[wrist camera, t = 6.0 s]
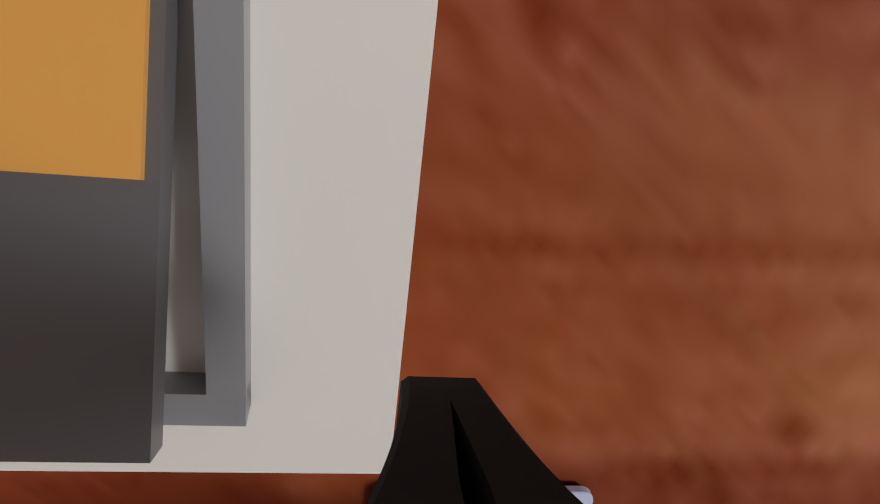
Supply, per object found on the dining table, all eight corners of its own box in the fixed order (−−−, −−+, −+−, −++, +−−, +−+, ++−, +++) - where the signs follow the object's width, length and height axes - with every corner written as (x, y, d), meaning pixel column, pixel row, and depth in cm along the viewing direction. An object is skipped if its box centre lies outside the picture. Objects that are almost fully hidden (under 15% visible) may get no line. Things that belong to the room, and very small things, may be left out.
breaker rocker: (162, 445, 15) (146, 469, 14) (-86, 442, 15) (-128, 466, 13) (179, -19, 15) (163, -40, 13) (-83, -47, 14) (-126, -72, 13)
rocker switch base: (385, 412, 24) (391, 508, 20) (-130, 401, 22) (-240, 507, 18) (444, -203, 17) (472, -245, 13) (-328, -320, 14) (-592, -416, 10)
